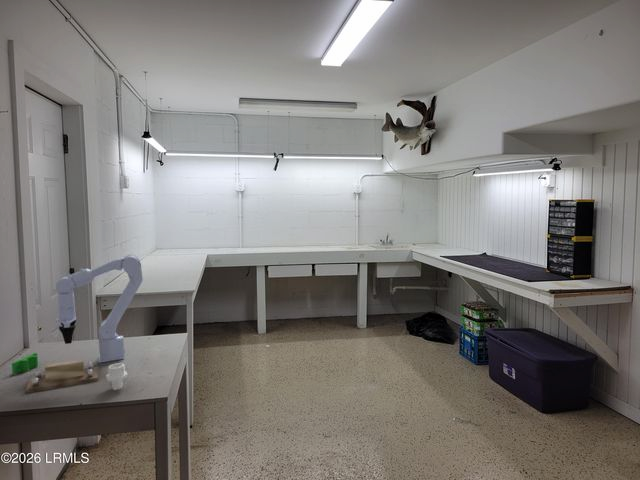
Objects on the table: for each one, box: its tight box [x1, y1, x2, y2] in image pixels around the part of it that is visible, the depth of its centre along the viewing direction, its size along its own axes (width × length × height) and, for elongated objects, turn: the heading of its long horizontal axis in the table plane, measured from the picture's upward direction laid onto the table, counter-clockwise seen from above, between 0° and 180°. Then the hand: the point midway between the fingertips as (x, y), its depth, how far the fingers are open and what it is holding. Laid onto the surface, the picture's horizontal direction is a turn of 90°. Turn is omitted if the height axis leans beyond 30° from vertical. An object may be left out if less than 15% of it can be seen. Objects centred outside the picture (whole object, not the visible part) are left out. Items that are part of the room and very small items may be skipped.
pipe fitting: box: [105, 362, 129, 391], centre depth 152 cm, size 6×7×8 cm
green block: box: [11, 352, 39, 375], centre depth 170 cm, size 11×4×5 cm, turn 173°
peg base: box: [25, 361, 100, 394], centre depth 158 cm, size 22×12×4 cm, turn 117°
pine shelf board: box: [44, 359, 85, 381], centre depth 158 cm, size 3×12×5 cm, turn 117°
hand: (68, 340), depth 174 cm, fingers open, 7 cm apart
